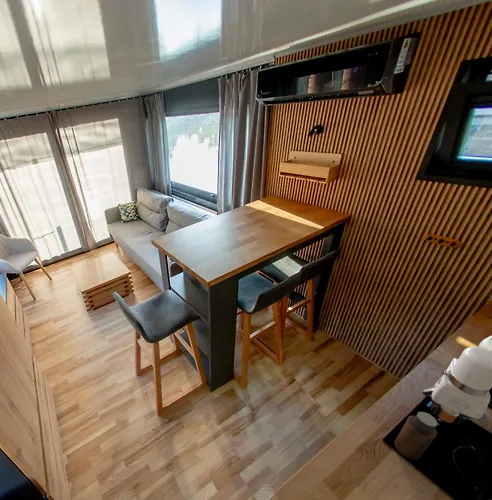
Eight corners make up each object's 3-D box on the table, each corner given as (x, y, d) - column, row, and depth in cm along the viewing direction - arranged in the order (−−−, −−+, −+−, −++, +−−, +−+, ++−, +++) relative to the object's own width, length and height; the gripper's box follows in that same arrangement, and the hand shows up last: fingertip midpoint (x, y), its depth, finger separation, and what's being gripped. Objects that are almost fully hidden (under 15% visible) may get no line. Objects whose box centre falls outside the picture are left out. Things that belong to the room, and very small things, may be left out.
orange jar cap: (453, 415, 84) (458, 408, 82) (454, 425, 82) (459, 418, 80) (436, 407, 87) (440, 401, 85) (436, 417, 85) (440, 410, 83)
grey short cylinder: (432, 425, 75) (437, 417, 73) (432, 436, 73) (437, 429, 71) (413, 416, 78) (417, 408, 76) (412, 427, 75) (417, 420, 74)
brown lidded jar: (420, 447, 82) (437, 424, 75) (419, 465, 78) (437, 442, 72) (394, 434, 86) (408, 411, 79) (393, 450, 82) (407, 427, 75)
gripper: (427, 376, 79) (409, 409, 88) (517, 410, 68) (487, 444, 77) (427, 359, 84) (410, 392, 92) (512, 388, 73) (484, 423, 81)
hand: (445, 415), depth 84 cm, fingers closed on orange jar cap, 4 cm apart
